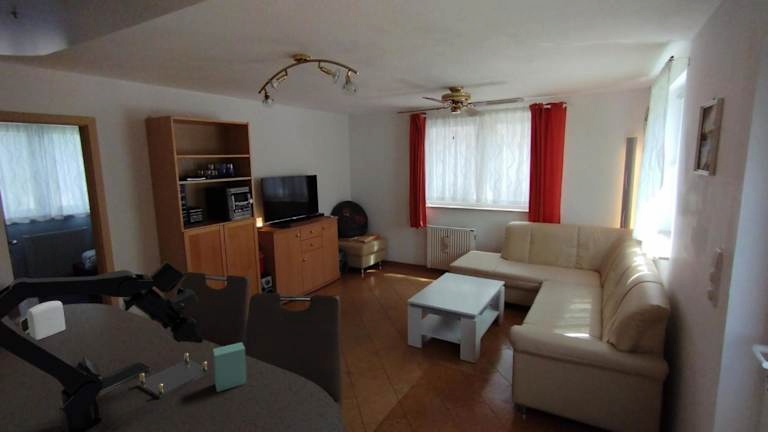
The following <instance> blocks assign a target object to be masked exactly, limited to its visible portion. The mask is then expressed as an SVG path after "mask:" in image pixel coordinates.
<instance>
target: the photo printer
mask: <svg viewBox="0 0 768 432" xmlns="http://www.w3.org/2000/svg"><path fill="white" fill-rule="evenodd" d="M26 317H27V318H26V319H27V325H28V333H29V335H30V336H32V337H33V338H35V339H37V340H38V341H40V340H41V339H44V338H47V337H50V336H52V335H55V334H58V333H60V332H62V331H64V330H66V319H65V314H64V307H63V303H62V302H61V301H59V300H52V301H45V302H43V303H39V304H37V305H35V306H32V307H31V308H28V309H27V310H26Z"/></svg>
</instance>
